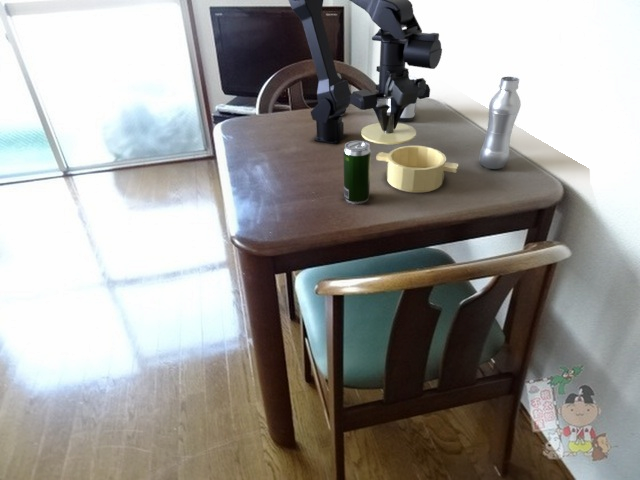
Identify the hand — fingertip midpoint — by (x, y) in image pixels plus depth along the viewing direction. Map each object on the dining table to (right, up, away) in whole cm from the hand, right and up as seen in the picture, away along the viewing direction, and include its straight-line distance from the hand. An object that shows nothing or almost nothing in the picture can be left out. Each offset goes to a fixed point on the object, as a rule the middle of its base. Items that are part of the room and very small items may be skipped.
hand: (388, 129), depth 106 cm
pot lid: (0, -1, +1) cm, 1 cm away
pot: (+5, -13, -8) cm, 16 cm away
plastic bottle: (+24, -10, -4) cm, 26 cm away
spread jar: (+6, +10, +26) cm, 28 cm away
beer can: (-9, -18, -14) cm, 25 cm away
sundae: (-12, +12, +29) cm, 33 cm away
